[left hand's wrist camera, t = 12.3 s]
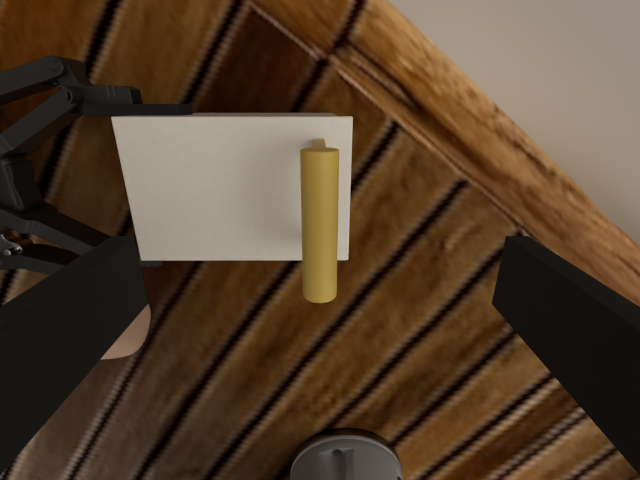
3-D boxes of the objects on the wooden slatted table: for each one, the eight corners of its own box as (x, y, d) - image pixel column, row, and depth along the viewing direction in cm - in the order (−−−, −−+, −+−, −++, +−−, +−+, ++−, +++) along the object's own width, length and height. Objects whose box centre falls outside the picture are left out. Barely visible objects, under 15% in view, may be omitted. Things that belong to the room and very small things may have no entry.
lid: (351, 116, 22) (370, 122, 14) (347, 255, 26) (360, 323, 18) (118, 116, 22) (5, 122, 14) (146, 256, 26) (69, 323, 18)
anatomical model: (129, 300, 34) (140, 390, 38) (148, 281, 37) (156, 364, 42) (-10, 289, 33) (17, 381, 37) (23, 270, 37) (44, 356, 41)
